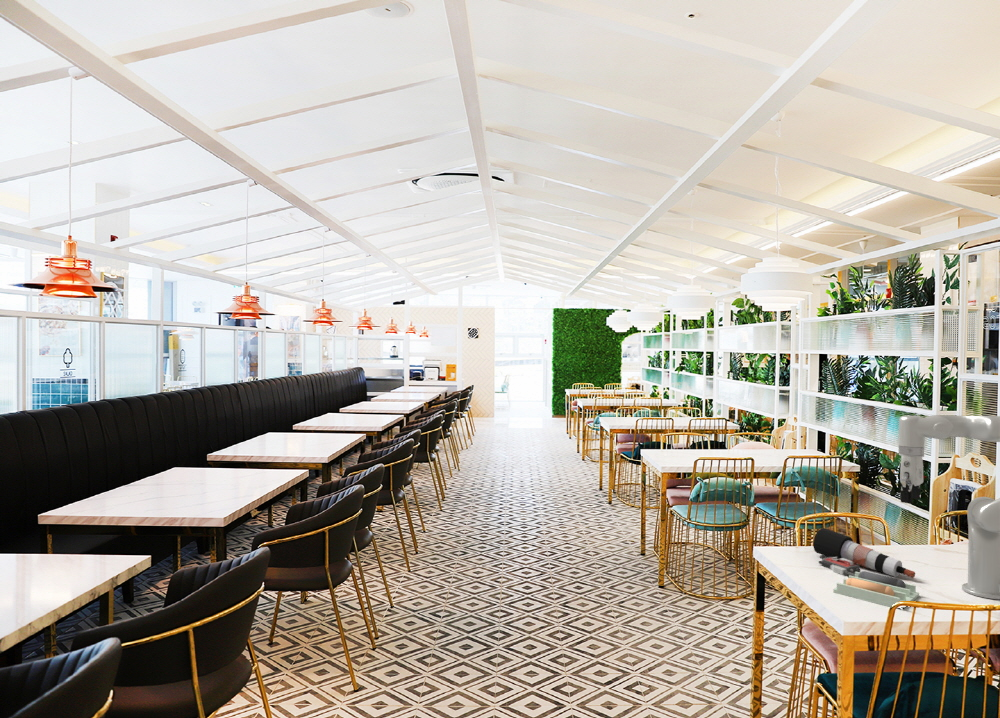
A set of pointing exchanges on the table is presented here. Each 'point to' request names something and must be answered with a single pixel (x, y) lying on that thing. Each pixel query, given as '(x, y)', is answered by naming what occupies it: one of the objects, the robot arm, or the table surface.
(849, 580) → the tan capsule
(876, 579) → the gray pill-shaped rod
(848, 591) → the rack
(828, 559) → the walkie-talkie
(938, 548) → the table surface
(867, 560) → the cable
